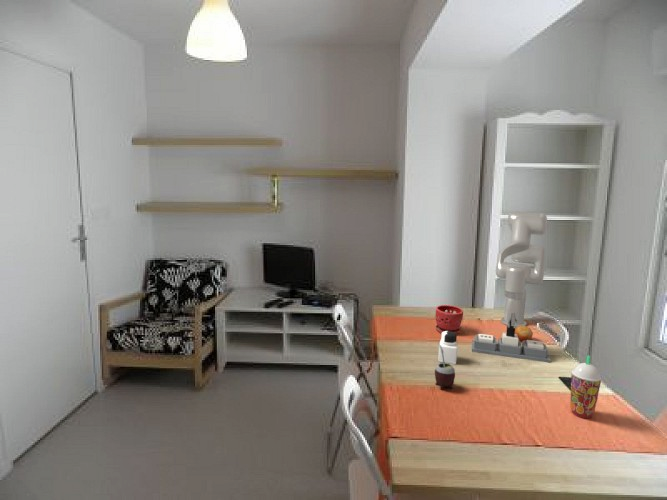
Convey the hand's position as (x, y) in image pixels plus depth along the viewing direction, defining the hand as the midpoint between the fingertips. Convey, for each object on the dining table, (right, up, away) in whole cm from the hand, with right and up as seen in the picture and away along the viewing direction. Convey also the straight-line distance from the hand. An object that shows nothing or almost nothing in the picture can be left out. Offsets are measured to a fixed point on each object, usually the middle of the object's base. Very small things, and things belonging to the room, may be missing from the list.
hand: (510, 335), depth 182 cm
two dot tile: (0, -4, +1) cm, 4 cm away
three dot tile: (-9, -5, +5) cm, 12 cm away
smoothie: (+3, -16, -46) cm, 49 cm away
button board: (0, -8, +2) cm, 8 cm away
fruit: (+12, -6, +15) cm, 20 cm away
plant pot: (-20, -3, +25) cm, 33 cm away
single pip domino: (+10, -7, -2) cm, 12 cm away
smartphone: (+12, -14, -29) cm, 34 cm away
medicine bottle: (-29, -9, -7) cm, 32 cm away
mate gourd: (-37, -13, -30) cm, 49 cm away
